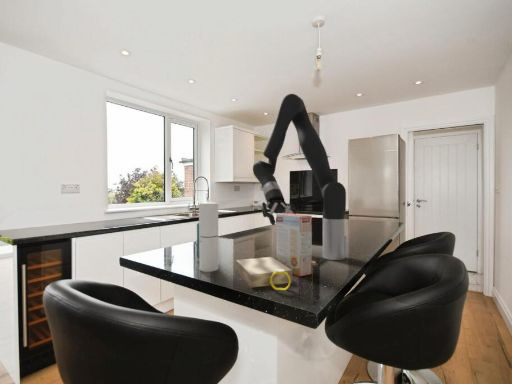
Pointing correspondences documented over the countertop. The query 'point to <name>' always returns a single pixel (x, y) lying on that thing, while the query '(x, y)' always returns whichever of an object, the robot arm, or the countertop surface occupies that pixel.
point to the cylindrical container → (208, 237)
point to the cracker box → (295, 242)
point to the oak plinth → (262, 271)
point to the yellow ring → (280, 271)
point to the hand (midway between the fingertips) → (284, 223)
